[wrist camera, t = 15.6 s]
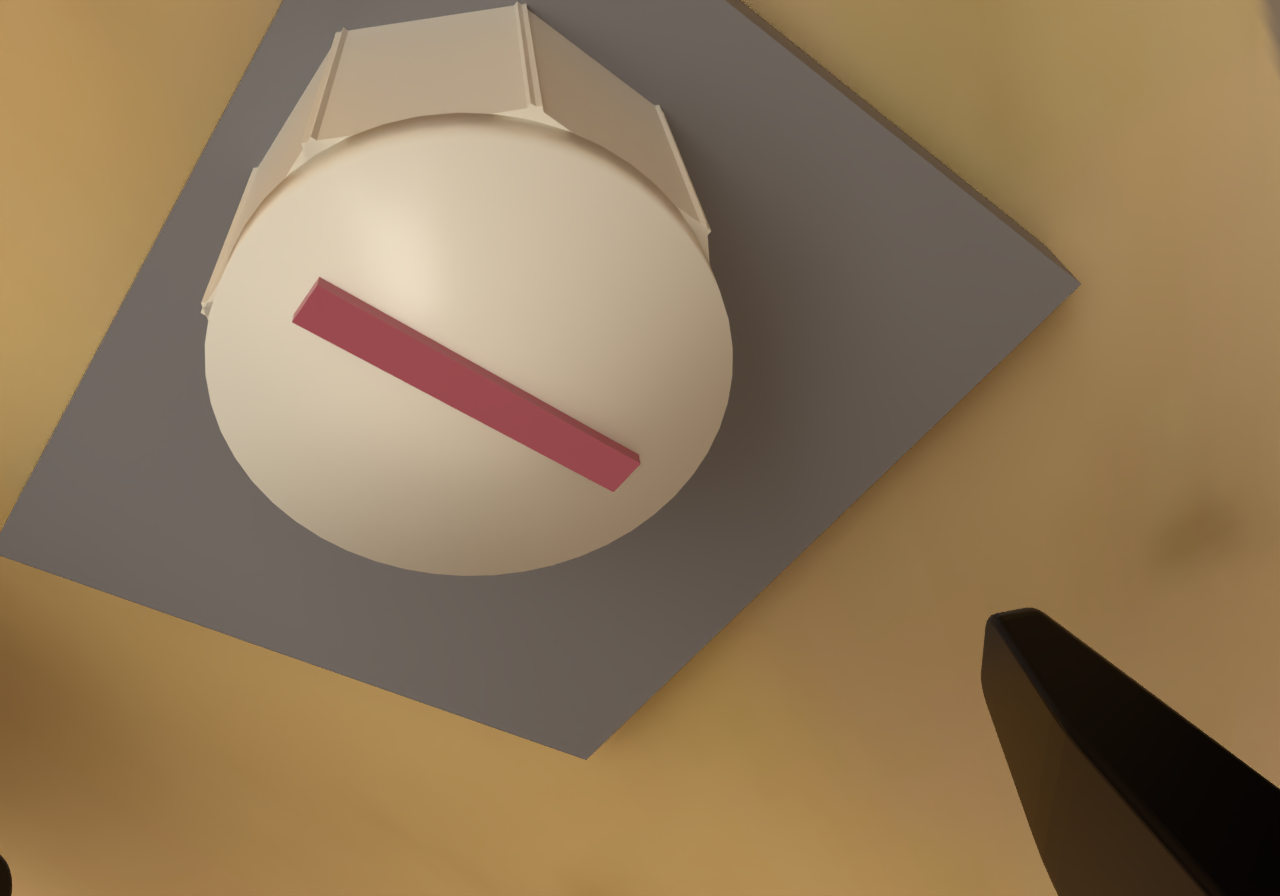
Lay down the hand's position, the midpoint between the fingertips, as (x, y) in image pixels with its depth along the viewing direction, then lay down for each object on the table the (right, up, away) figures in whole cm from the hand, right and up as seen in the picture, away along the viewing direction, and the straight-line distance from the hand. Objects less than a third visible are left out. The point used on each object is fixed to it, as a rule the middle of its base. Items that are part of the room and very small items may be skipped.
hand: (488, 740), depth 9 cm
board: (-1, +4, +12) cm, 13 cm away
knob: (-1, +6, +8) cm, 10 cm away
